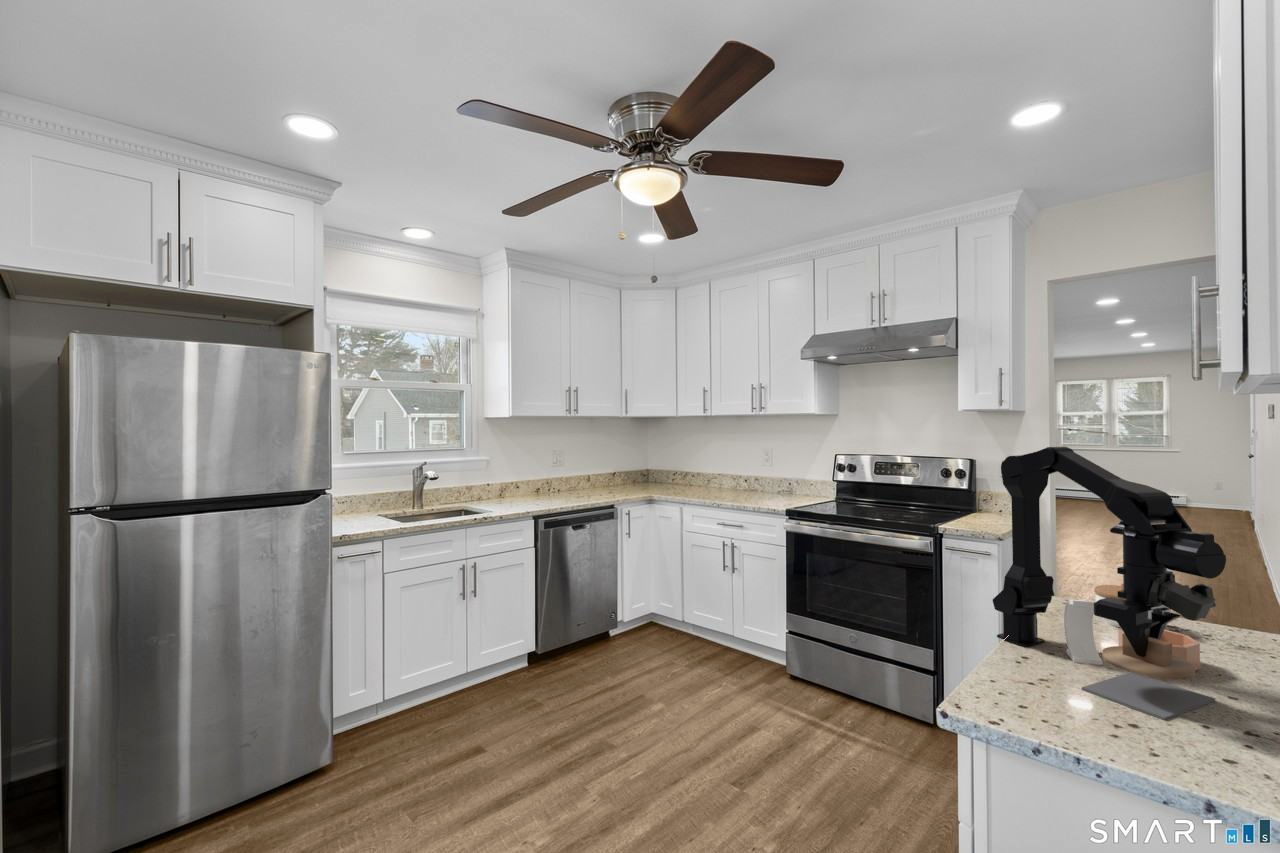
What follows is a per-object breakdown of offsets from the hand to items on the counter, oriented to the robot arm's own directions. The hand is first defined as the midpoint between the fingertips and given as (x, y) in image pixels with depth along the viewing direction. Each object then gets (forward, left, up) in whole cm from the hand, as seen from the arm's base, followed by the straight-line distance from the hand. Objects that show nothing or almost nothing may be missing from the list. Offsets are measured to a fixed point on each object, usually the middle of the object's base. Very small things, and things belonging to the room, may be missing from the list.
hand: (1145, 654), depth 102 cm
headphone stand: (+8, +14, -7) cm, 18 cm away
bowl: (+18, +7, -7) cm, 20 cm away
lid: (0, 0, -2) cm, 2 cm away
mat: (0, 0, -7) cm, 7 cm away
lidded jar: (+36, +22, -7) cm, 43 cm away
